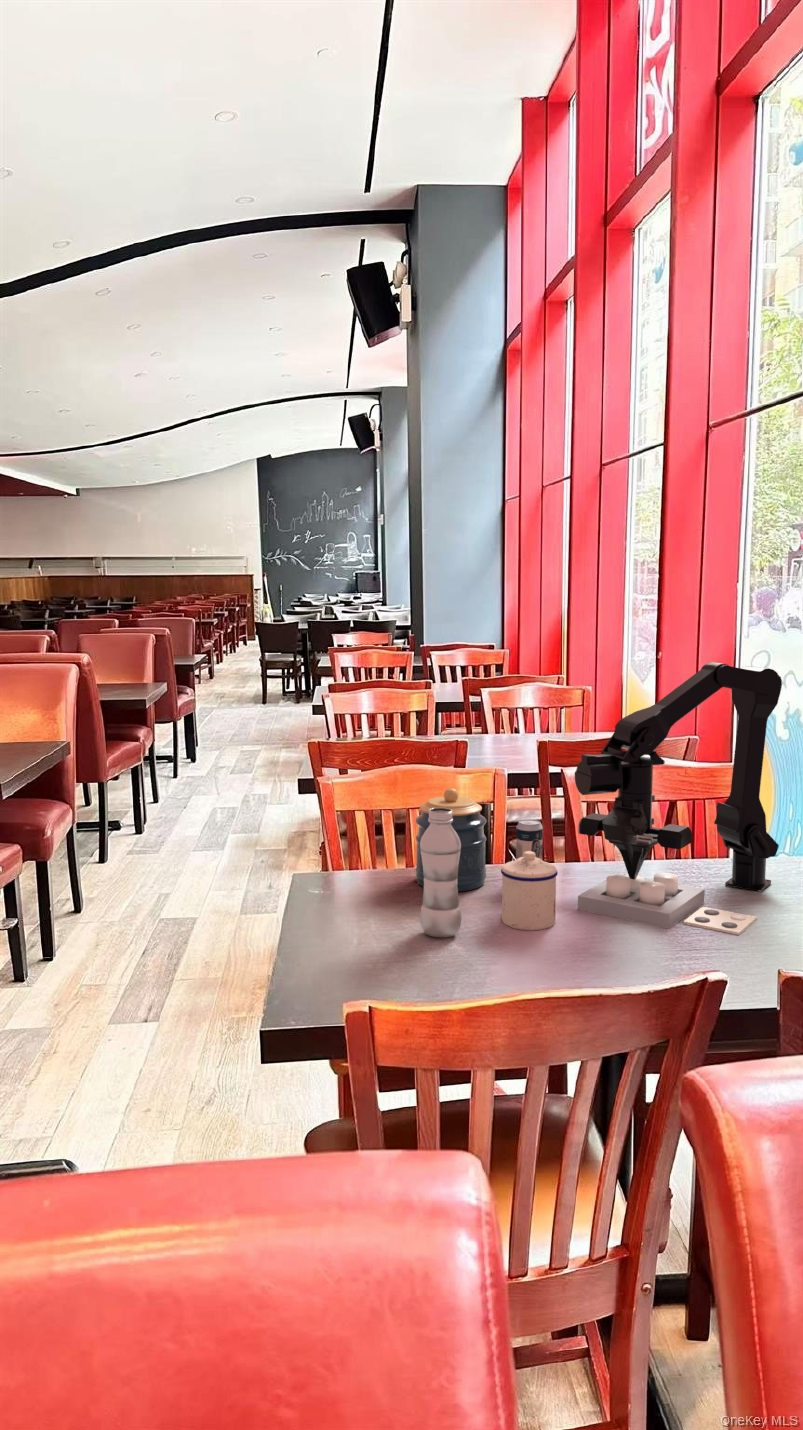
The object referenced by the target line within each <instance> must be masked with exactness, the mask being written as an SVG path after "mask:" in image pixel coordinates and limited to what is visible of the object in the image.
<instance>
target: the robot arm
mask: <svg viewBox="0 0 803 1430" xmlns="http://www.w3.org/2000/svg"><path fill="white" fill-rule="evenodd" d="M782 686H783V682H782V677H781V676H780V675H779V673H778V672H777V671H776V670H775V669H773V668H767V667H759V666H752V665H751V666H750V665H745V666H742V667H735V666H731V665H729V664H727V663H722V662H712V661H711V662H708V663H706V664H704V665H703V666H702V667H701V669H699V670H698V671H697V672H695V674H693V675H692V676H690V677H689V678H688V679H686V680H685V681H684V682H682V683H681V684H680V685H678V686H677V687H676V688H674V689H673V690H672V691H671V692H669V693H667V694H666V695H665V696H664V697H662V699H660V700H658V701H657V702H656V703H655V704H653V705H650V706H647V707H646V708H642V709H638V710H636V711H633V712H632V713H630V714H628V715H626V716H624V717H622V718H621V719H619V720H618V721H617V722H616V724H615V725H614V732H613V734H612V735H611V736H610V738H609V740H608V741H607V742H606V744H605V746H604V747H603V748H602V750H601V751H600V754H590V753H589V754H588V753H586V754H585V753H584V754H582V755H581V761H580V762H578V765H577V767H576V769H575V771H574V783H575V787H576V789H577V791H578V792H579V793H580V794H581V795H582V796H588V795H589V796H590V795H600V794H614V793H616V792H617V796H616V797H614V802H613V808H612V810H610V811H609V812H608V814H601V813H595V812H592V813H591V814H588V815H585V816H583V817H582V818H580V819H579V822H578V830H577V831H578V834H580V835H583V836H590V837H591V836H592V837H595V836H596V835H597V834H598V833H600V831H601V832H602V831H603V837H604V839H605V840H607V841H608V843H609V844H613V845H614V846H615V847H616V848H617V849H618V851H619V853H620V854H621V857H622V860H623V864H624V866H625V868H626V869H625V870H626V872H627V875H629V878H630V879H636V877H637V876H639V873H640V871H641V869H642V866H643V864H644V862H645V859H646V857H647V855H648V854H649V852H650V850H651V849H652V847H653V846H656V845H657V844H659V846H660V847H661V848H667V849H674V850H681V849H683V848H685V847H687V846H688V845H690V844H691V843H693V832H692V829H690V827H689V826H686V825H680V824H679V825H677V824H672V823H669V824H667V825H665V826H663V827H661V828H660V827H659V828H658V827H653V825H655V818H654V817H652V816H653V815H652V814H653V813H652V812H653V811H652V810H653V808H652V807H653V802H655V800H656V796H655V794H653V781H654V780H653V779H654V778H653V777H654V775H653V774H654V773H653V772H654V766H662V765H663V766H664V765H665V763H666V761H665V760H664V759H663V758H662V757H661V756H660V755H658V753H657V751H656V749H657V748H659V746H660V745H661V744H662V743H663V742H664V741H665V739H666V738H667V737H668V736H669V733H670V730H671V728H672V727H673V726H675V724H676V723H678V722H679V721H680V720H682V719H683V718H684V717H686V716H687V715H688V714H689V713H691V712H692V711H693V710H695V709H696V708H698V707H699V706H700V705H701V704H703V702H705V701H706V700H707V699H709V698H711V696H713V695H714V694H716V693H717V692H718V691H720V690H721V689H723V688H727V689H731V700H732V703H733V705H734V707H735V711H736V713H737V726H736V736H735V745H734V757H733V766H732V776H731V787H730V793H729V796H728V797H727V799H726V800H725V802H724V803H723V802H720V801H719V802H717V804H716V816H715V820H714V821H713V823H714V825H716V829H717V831H716V832H717V834H719V836H720V838H722V842H723V844H724V847H725V848H728V849H731V850H732V867H731V868H732V869H731V871H732V872H731V873H732V874H731V878H729V879H728V880H727V881H725V884H724V885H725V886H729V887H735V888H740V889H745V890H752V891H757V892H763V891H764V890H765V889H766V888H767V887H769V885H770V884H772V880H771V879H766V873H767V872H766V869H767V859H769V858H772V857H775V856H777V852H778V850H779V844H778V842H776V840H775V839H774V838H773V837H772V836H771V835H770V834H769V833H768V832H767V817H766V812H765V810H764V807H763V803H762V802H761V798H760V795H761V794H760V792H761V785H762V784H761V782H762V775H763V774H762V773H763V763H764V755H765V746H766V735H767V728H768V727H767V726H768V725H767V724H768V719H769V717H770V715H772V713H773V711H774V710H775V708H776V707H777V706H778V703H779V699H780V694H781V691H782V689H783V688H782Z"/></svg>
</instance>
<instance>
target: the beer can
mask: <svg viewBox="0 0 803 1430" xmlns="http://www.w3.org/2000/svg"><path fill="white" fill-rule="evenodd" d="M515 827H516V832H515V833H516V841H515V843H516V846H515V847H516V849H515V851H516V852H515V853H516V854H515V855H516V856H515V857H516V858H515V860H516V859H518V858H521V857H523V853H524V852H526V851H532V852H534V853H535V854H536V858H539V859H541V860H543V832H544V831H543V829H544V827H543V825H542V823H541V821H540V820H536V819H522V820H519V821H518V823H517V825H516V826H515Z"/></svg>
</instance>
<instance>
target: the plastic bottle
mask: <svg viewBox="0 0 803 1430" xmlns="http://www.w3.org/2000/svg"><path fill="white" fill-rule="evenodd" d="M428 822H429V823H430V826H429V827H428V828H427V830H426V831H425V833H424V834H423V836H422V837H421V841H420V849H421V856H422V863H423V875H424V887H423V891H422V892H423V893H422V896H423V897H422V905H421V907H420V915H419V919H420V926H421V929H422V930H423V933H424V934H426V935H427V936H430V937H434V938H449V937H452V936H455V935H457V934H458V933H459V931H460V929H461V925H462V922H463V921H462V920H463V919H462V912H461V911H462V910H461V908H460V907H461V906H460V904H459V903H460V901H459V891H458V887H457V882H458V879H457V877H458V865H459V858H460V850H461V842H460V839H459V836H458V835H457V833H456V831H455V830H454V829H453V827H452V826H451V823H452V822H453V818H452V810H451V809H449V808H432V809H430V810H429V818H428Z"/></svg>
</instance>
